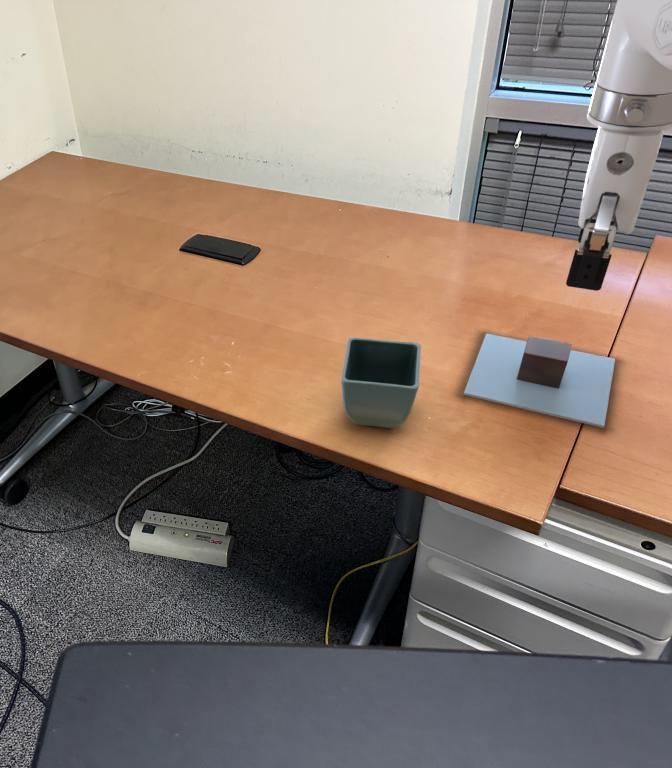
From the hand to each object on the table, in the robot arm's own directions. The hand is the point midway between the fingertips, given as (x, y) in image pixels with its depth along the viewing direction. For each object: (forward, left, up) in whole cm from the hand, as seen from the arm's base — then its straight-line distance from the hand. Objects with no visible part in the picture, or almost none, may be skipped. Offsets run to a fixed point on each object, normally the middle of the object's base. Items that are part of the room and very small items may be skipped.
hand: (588, 264), depth 74 cm
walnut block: (+1, -5, -20) cm, 20 cm away
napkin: (+1, -5, -20) cm, 21 cm away
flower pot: (+18, +10, -20) cm, 29 cm away
